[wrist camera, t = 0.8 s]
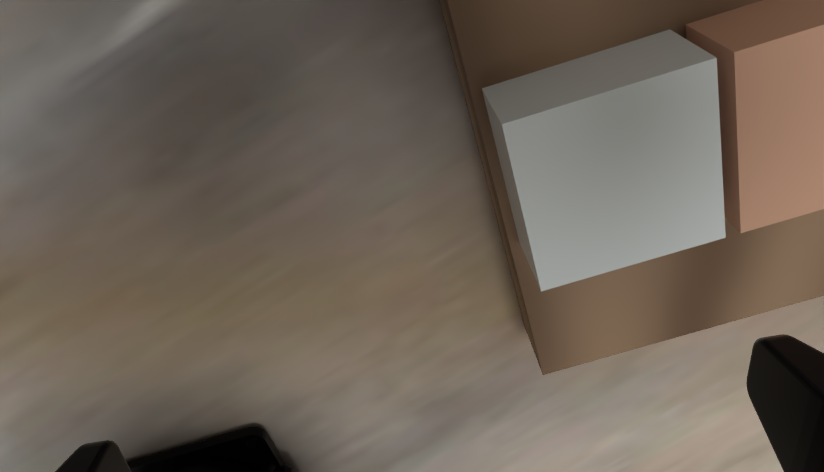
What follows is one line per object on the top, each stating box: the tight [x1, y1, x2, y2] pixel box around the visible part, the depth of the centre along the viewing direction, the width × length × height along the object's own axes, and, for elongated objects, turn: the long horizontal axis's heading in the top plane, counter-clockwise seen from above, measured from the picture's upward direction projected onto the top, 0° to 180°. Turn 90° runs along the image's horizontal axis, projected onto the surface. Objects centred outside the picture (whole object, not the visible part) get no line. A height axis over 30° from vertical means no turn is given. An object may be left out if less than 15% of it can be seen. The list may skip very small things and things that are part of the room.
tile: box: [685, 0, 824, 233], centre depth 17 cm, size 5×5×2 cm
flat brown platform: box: [440, 0, 824, 375], centre depth 20 cm, size 11×16×2 cm
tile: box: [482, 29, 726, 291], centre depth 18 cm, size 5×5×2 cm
